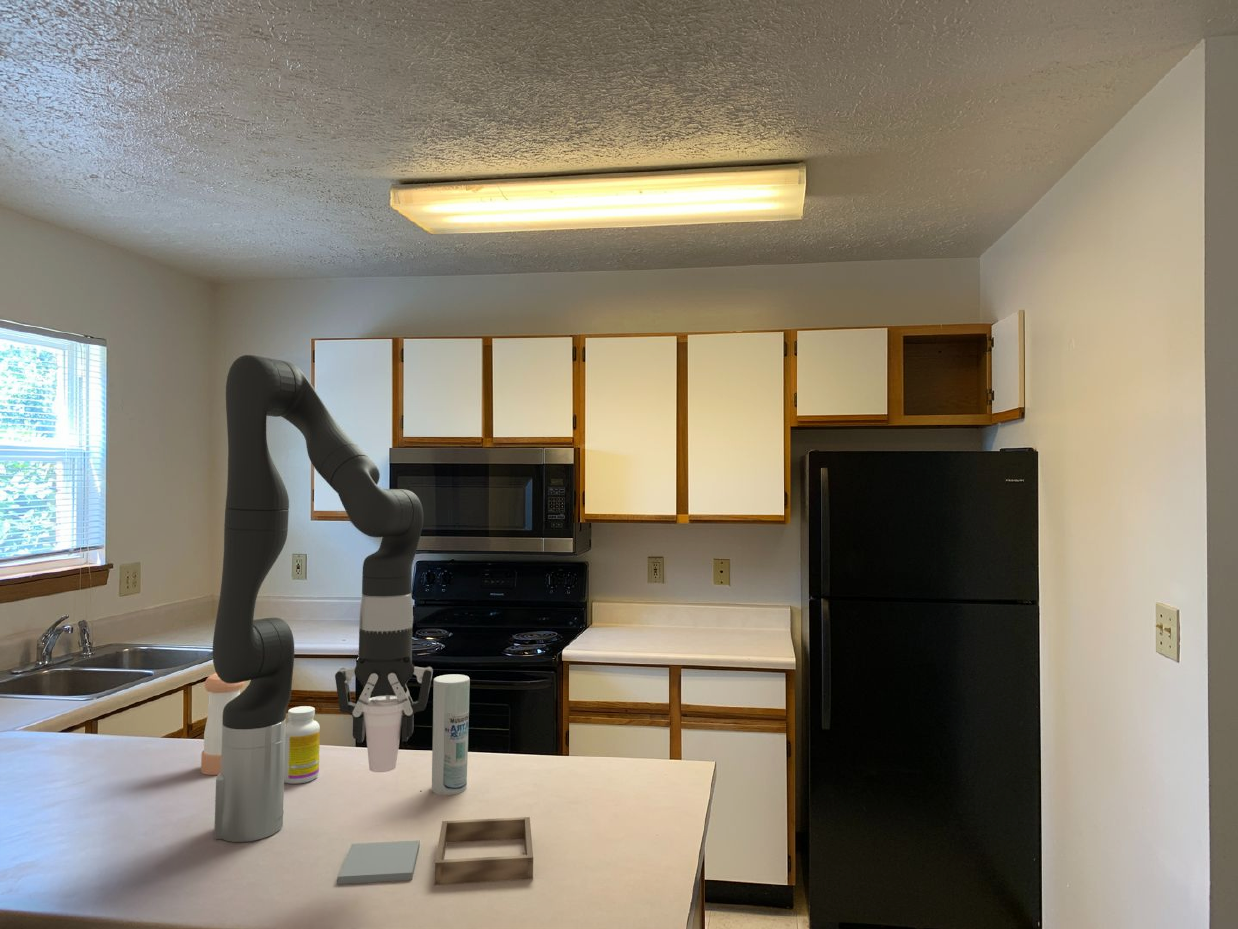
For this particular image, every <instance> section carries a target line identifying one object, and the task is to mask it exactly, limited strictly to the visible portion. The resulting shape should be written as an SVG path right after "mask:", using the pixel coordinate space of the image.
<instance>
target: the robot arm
mask: <svg viewBox="0 0 1238 929" xmlns="http://www.w3.org/2000/svg"><path fill="white" fill-rule="evenodd" d="M225 409H226V429H227V430H226V431H227V432H226V433H227V448H228V449H227V452H228V453H227V482H226V483H227V485H226V486H227V487H226V498H225V505H224V506H225V509H224V527H223V531H224V532H223V559H222V571H221V572H222V573H221V586H220V592H219V593H220V594H219V598H218V606H217V613H216V618H215V623H214V624H215V625H214V631H213V638H212V639H213V640H212V661H213V667H214V670H215V673H217V675H218V677H219V678H220V679H221V680H222V681H223V682H225V683H239V682H244V681H245V682H247V681H249V683H248V685H247V686H246V687H245V689H243V691H242V692H240V695H238V696H237V697H236V698H234V699H233V700H231V701H230V702H229V703H227V704H226V706H225V707H224V710H223V721H222V755H221V773H220V774H219V775H216V778H215V794H214V795H215V797H214V799H215V800H214V826H213V827H214V829H213V831H214V833H213V835H214V836H213V839H214V840H219V839H220V840H224V841H226V842H232V843H246V842H253V841H258V840H261V839H264V838H268V837H270V836H272V835H274V834H276V833H278V832H279V831H280V830H281V829H282V828H283V825H284V801H285V800H284V798H285V796H284V793H285V792H284V791H285V790H284V789H285V782H284V767H285V731H286V724H287V723H286V722H287V721H286V720H287V708H288V706H289V704H290V701H291V697H292V696H291V695H292V685H293V676H294V675H293V674H294V662H295V638H294V635H293V632H292V629H291V627H290V626H289V625H290V624H288V623H287V622H286V621H285V620H284V619H281V618H279V617H265V618H260V619H254V616H255V615H254V614H255V608H256V602H257V598H258V594H259V591H260V589H261V586H262V584H263V582H264V581H265V579H266V578H267V576H268V574H269V572H270V571H271V569H272V568H273V566H274V565H275V563H276V561H277V559H278V558H279V556H280V554H282V553H281V552H282V551H283V548H284V546H285V544H286V542H287V539H288V533H289V532H288V530H289V529H288V528H289V514H290V513H289V512H290V510H289V509H290V499H289V494H288V493H289V492H288V490H287V488H286V485H285V483H284V481H283V479H282V477H281V475H280V473H279V470H278V469H277V466H276V465H275V463H274V461H273V459H272V456H271V454H270V451H269V446H268V439H267V417H276V418H277V417H278V418H279V417H281V418H283V419H284V420H286V421H288V422H289V423H290V424H291V425H293V426H294V427H295V428H296V429H298V430H299V432H300V433H301V434H302V436H303V437H304V439H305V444H306V451H307V456H308V458H309V460H310V462H311V465H312V466H313V468H314V469H315V470H316V472H317V473H318V475H320V477H322V478H323V479H324V481H325V482H326V483H327V484H328V485H329V486H330V487H331V488H332V490H334V492H336V493H337V495H338V498H339V499H340V502H341V504H342V507H343V508H344V510H345V512H346V514H347V516H348V519H349V521H350V523H352V525H353V526H354V527H355V528H356V529H357V530H358V531H360V532H361V533H362V534H364V535H366V536H368V537H370V538H381V541H380V545H379V548H378V549H377V551H375V552H373V553H371V554H369V555H368V556H366V557H365V559H364V560H363V564H362V571H361V572H362V577H361V579H362V580H361V600H360V606H359V619H358V620H359V624H358V626H359V627H358V660H357V661H358V662H357V664H356V666H355V667H353V668H352V667H351V668H345V667H341V668H340V669H339V670H338V671H337V672H336V673H335V674H334V678H335V679H334V680H335V685H336V687H335V688H336V693H337V698H338V699H337V700H338V706H339V711H340V713H341V714H342V713H343V714H349V715H351V717H352V737H353V739H356V743H363V741H364V740H365V736H366V730H365V721H364V712H363V711H362V704H366V703H367V701H368V700H369V698H371V696H372V697H378V696H383V695H384V696H386V695H390V696H396V697H397V699H398V701H399V703H404V704H403V708H404V709H403V710H404V713H403V720H402V727H401V741H402V742H408V740H409V738H412V735H413V733H414V727H415V725H414V721H415V718H414V716H415V715H414V714H416V713H418V712H423V711H425V710H426V707H427V704H428V699H429V695H430V689H431V684H432V678H433V672H434V669H433V667H432V666H427V667H421V666H420V667H419V666H415V664H414V661H413V655H412V654H413V623H414V615H413V614H414V612H413V611H414V610H413V609H414V608H413V598H412V591H413V590H412V588H413V586H412V585H413V584H412V582H413V580H412V579H413V569H412V567H413V563H414V560H415V556H416V553H417V550H418V547H419V543H420V538H421V534H422V531H423V530H422V529H423V525H424V509H423V506H422V502H421V500H420V498H419V497H418V495H416V494H415V493H414V492H413V491H411V490H409V489H405V488H403V489H402V488H398V489H397V488H381V487H380V486H379V485H378V483H379V482H380V478H381V477H380V476H381V475H380V470H379V468H378V466H377V465H376V464H375V463H374V461H373V460H372V459H371V458H370V456H368V455H367V454H366V453H365V452H364V451H363V449H361V448H360V446H359V445H358V444H357V443H355V442H354V440H352V438H351V437H350V436H349V435H348V434H347V433H346V432H345V431H344V430H343V428H342V427H341V425H340V424H339V423H338V422H337V421H336V419H335V418H334V416H333V415H332V413H331V411H330V410H329V409H328V407H327V406H326V404H325V403H324V402H323V400H322V399H321V397H320V396H319V394H318V392H317V391H316V389H315V388H314V386H313V385H312V383H311V382H310V381H309V379H308V377H307V376H306V375H305V373H304V372H303V371H302V370H301V368H299V367H298V366H297V365H296V364H293V363H291V362H289V361H285V360H282V359H281V360H280V359H273V358H269V357H264V356H261V355H260V356H258V355H253V354H245V355H242V356H239V357H238V358H236V359H235V360H234V361H233V363H232V364H231V365H230V367H229V370H228V373H227V376H226V382H225ZM413 675H414V676H416V680H417V682H418V683H419V684H420V690H419V695H418V699H417V700H416V701H413V699H412V697H411V695H410V690H409V688H408V686H407V683H408V682H409V680H410V679H411V678H412V676H413ZM354 677H356V679H358V681H359V682H360V684H361V685H362V687H363V690H362V692H361V694H360V695H359V698H358V700H357V701H356V703H355V702H352V697H351V691H350V690H351V689H350V684H351V683H352V682H353V679H354Z"/></svg>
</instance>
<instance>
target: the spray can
mask: <svg viewBox="0 0 1238 929" xmlns="http://www.w3.org/2000/svg"><path fill="white" fill-rule="evenodd" d="M470 681H471V679H470V677H469V676H468V675H465V674H458V673H457V674H454V673H453V674H443V675H439V676H436V677H434V678H433V689H432V690H433V694H432V695H433V696H432V697H433V699H432V701H433V702H432V706H433V707H432V749H431V750H432V751H431V752H432V753H431V754H432V756H431V758H432V759H431V760H432V761H431V766H432V767H431V789H432V792H433V793H434V794H436V795H441V796H452V795H457V794H460V793H462V792H465V790H467V784H468V760H469V759H468V758H469V757H468V755H469V754H468V753H469V752H468V751H469V725H470V724H469V720H470V719H469V717H470V691H471V690H470V687H471V686H470V685H471V682H470Z"/></svg>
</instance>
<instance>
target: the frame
mask: <svg viewBox="0 0 1238 929" xmlns="http://www.w3.org/2000/svg"><path fill="white" fill-rule="evenodd" d="M523 839H524V849H525V850H524V851H525V852H524V853H525V855H524V854H522V855H507V856H506V855H504V856H503V855H502V856H487V857H486V856H485V857H484V856H483V857H470V858H469V857H468V858H452V859H445V856H446V848H447V843H463V842H464V843H465V842H467V843H468V842H487V841H488V842H489V841H503V840H504V841H506V840H523ZM435 854H436V856H435V859H434V860H435V861H434V885H436V886H437V885H453V884H468V883H469V884H470V883H472V884H474V883H486V882H488V883H489V882H504V881H505V882H506V881H521V880H522V881H523V880H524V881H525V880H533V879H534V850H533V838H532V828H531V817H530V816H522V817H521V816H520V817H503V818H501V817H499V818H483V819H482V818H480V819H461V820H460V819H459V820H441V826H440V832H439V838H438V843H437V848H436V853H435Z"/></svg>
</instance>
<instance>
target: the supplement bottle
mask: <svg viewBox="0 0 1238 929" xmlns="http://www.w3.org/2000/svg"><path fill="white" fill-rule="evenodd" d="M315 713H316V709H315V707H313V706H310V705H309V706H307V705H303V706H301V705H300V706H295V707H292V708H290V709H288V711H287V718H288V722H287V723H286V731H285V767H284V784H290V785H298V784H305V783H309V782H311V781H313V780H315V779H316V778H318V777H319V774H320V737H321V736H320V735H321V731H320V730H321V727H320V723H319V722H318V721H317V720H314V718H315V715H316V714H315Z"/></svg>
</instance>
